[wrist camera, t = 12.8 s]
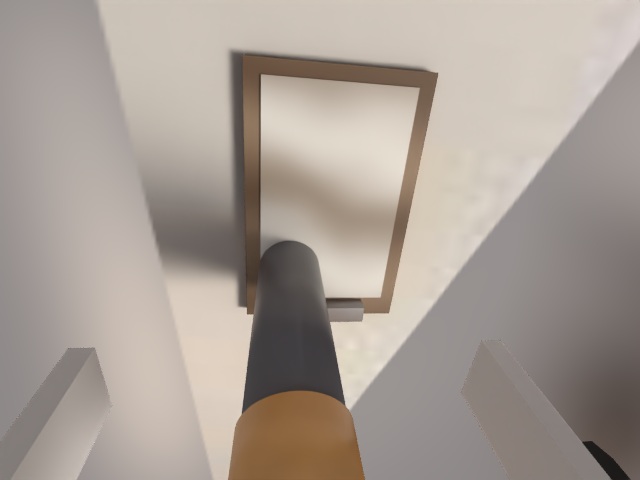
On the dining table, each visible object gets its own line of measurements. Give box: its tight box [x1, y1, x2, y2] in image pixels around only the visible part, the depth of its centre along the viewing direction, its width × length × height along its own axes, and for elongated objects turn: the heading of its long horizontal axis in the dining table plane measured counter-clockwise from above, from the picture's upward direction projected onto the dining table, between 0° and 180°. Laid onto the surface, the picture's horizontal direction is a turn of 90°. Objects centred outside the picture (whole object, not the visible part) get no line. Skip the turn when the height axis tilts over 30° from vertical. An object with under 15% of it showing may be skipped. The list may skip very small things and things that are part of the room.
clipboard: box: [242, 55, 438, 322], centre depth 18 cm, size 14×9×2 cm, turn 175°
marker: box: [228, 241, 365, 480], centre depth 14 cm, size 4×4×13 cm
